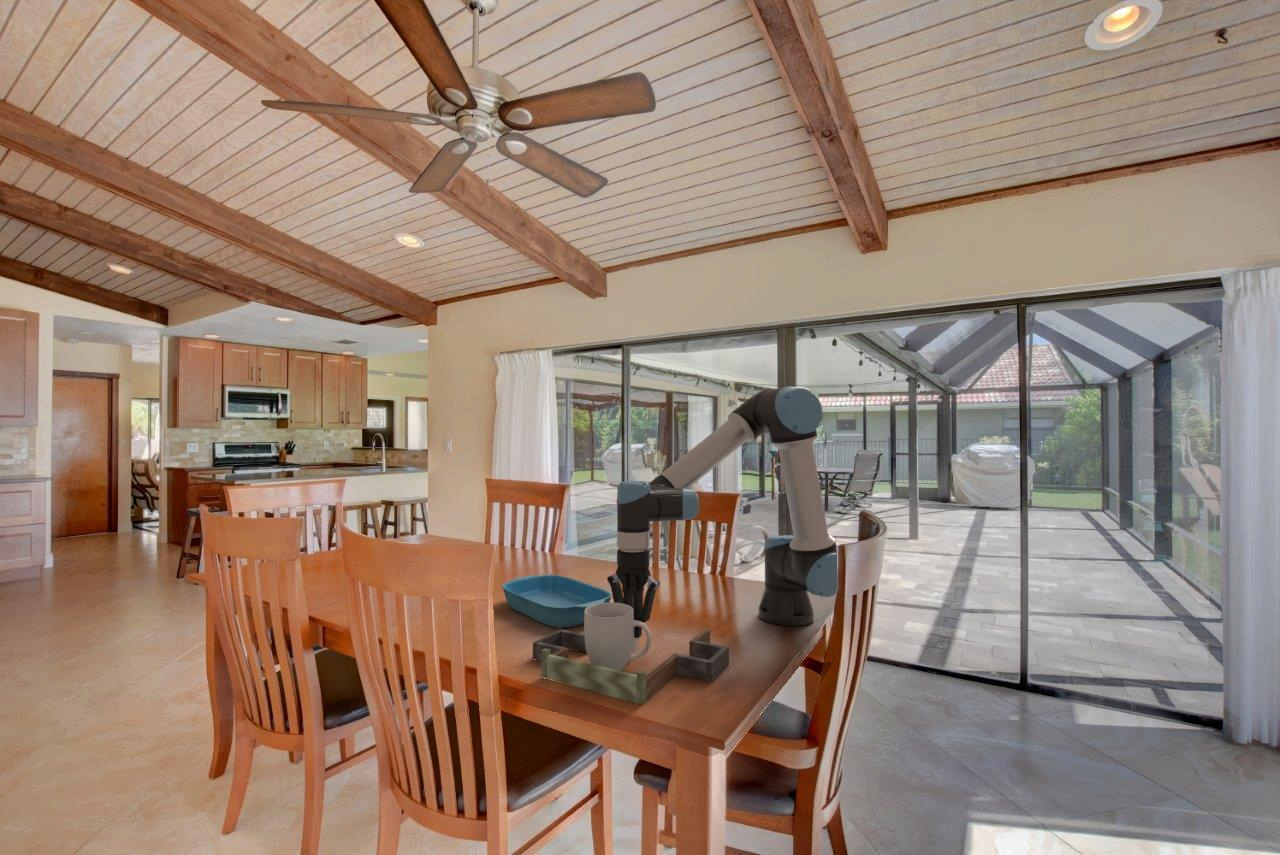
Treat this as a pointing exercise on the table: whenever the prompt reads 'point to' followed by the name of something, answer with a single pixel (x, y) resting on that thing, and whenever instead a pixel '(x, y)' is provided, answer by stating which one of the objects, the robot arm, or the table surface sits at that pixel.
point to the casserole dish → (553, 598)
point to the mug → (611, 634)
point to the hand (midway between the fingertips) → (632, 650)
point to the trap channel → (619, 684)
